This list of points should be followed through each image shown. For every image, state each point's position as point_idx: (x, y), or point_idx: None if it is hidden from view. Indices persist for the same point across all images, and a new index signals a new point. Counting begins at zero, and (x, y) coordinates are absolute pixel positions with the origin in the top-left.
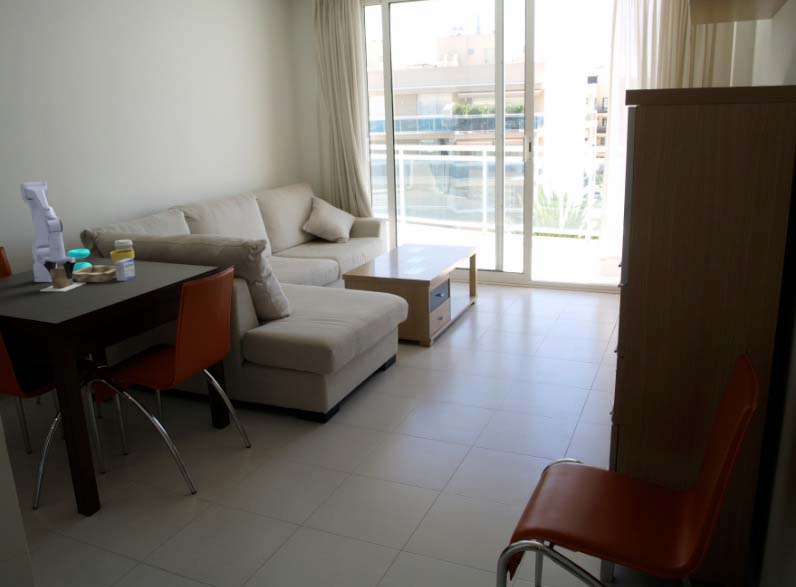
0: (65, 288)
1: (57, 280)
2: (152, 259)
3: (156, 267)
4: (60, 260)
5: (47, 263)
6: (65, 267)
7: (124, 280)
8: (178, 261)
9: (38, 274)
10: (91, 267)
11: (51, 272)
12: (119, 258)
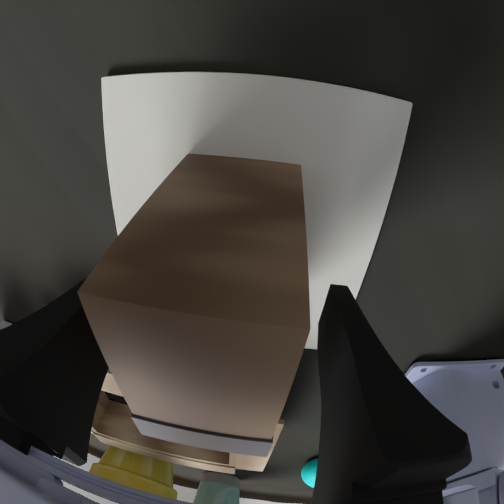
0: (152, 156)
1: (206, 195)
2: (187, 482)
3: (95, 436)
4: (14, 482)
5: (406, 486)
6: (15, 345)
7: (6, 322)
8: (101, 454)
9: (491, 399)
10: (229, 462)
11: (280, 287)
12: (106, 472)
